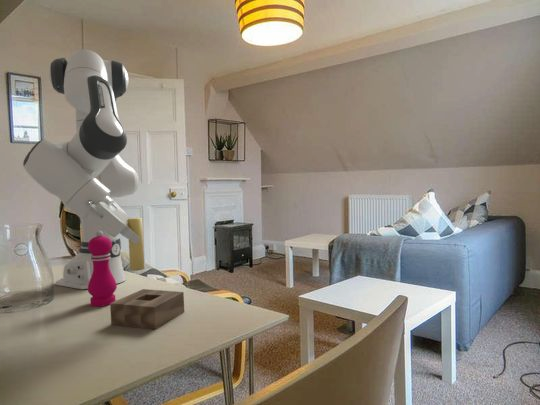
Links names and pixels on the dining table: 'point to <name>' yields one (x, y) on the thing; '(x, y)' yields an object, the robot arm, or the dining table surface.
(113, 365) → the dining table surface
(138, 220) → the dowel
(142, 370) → the dining table surface
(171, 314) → the socket block
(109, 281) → the pepper mill
